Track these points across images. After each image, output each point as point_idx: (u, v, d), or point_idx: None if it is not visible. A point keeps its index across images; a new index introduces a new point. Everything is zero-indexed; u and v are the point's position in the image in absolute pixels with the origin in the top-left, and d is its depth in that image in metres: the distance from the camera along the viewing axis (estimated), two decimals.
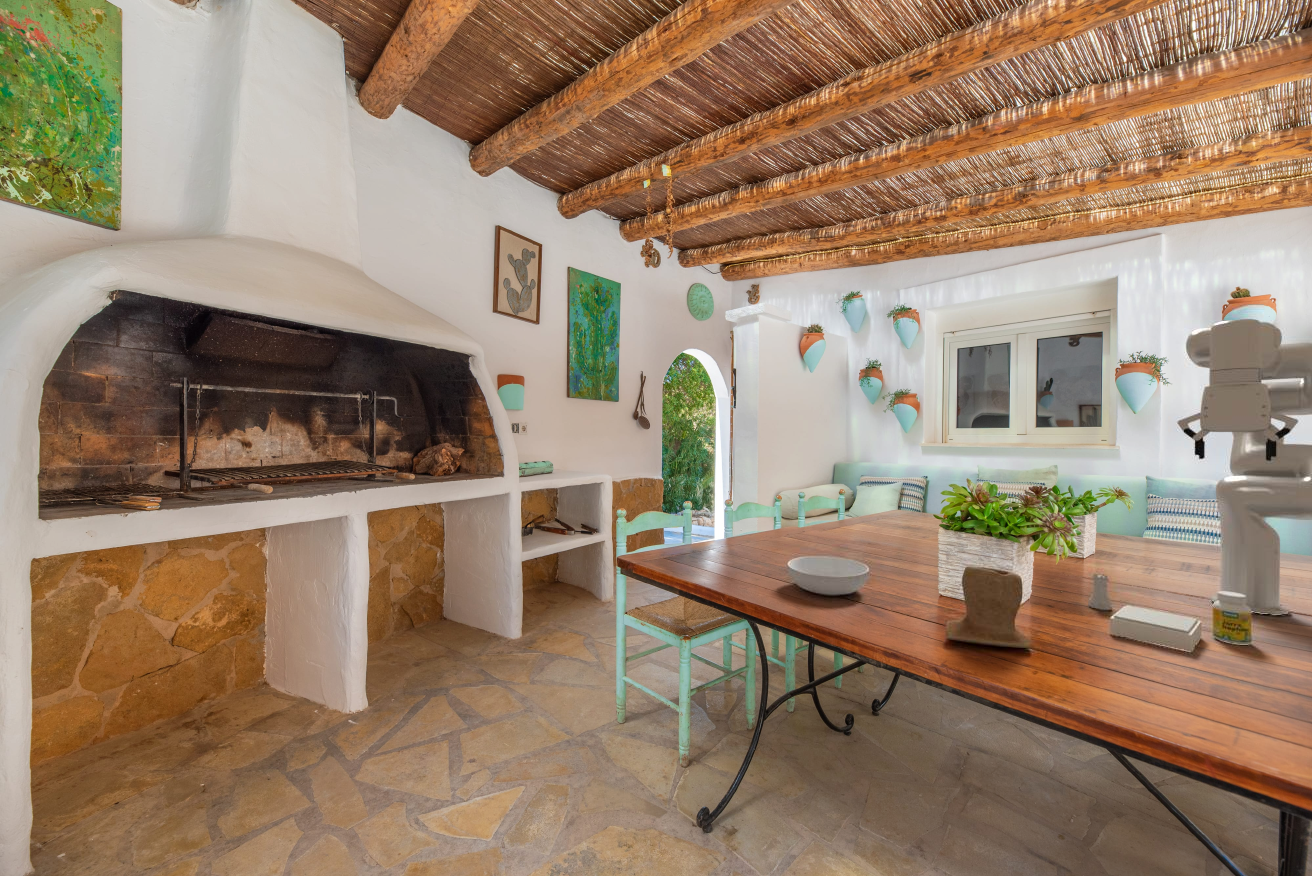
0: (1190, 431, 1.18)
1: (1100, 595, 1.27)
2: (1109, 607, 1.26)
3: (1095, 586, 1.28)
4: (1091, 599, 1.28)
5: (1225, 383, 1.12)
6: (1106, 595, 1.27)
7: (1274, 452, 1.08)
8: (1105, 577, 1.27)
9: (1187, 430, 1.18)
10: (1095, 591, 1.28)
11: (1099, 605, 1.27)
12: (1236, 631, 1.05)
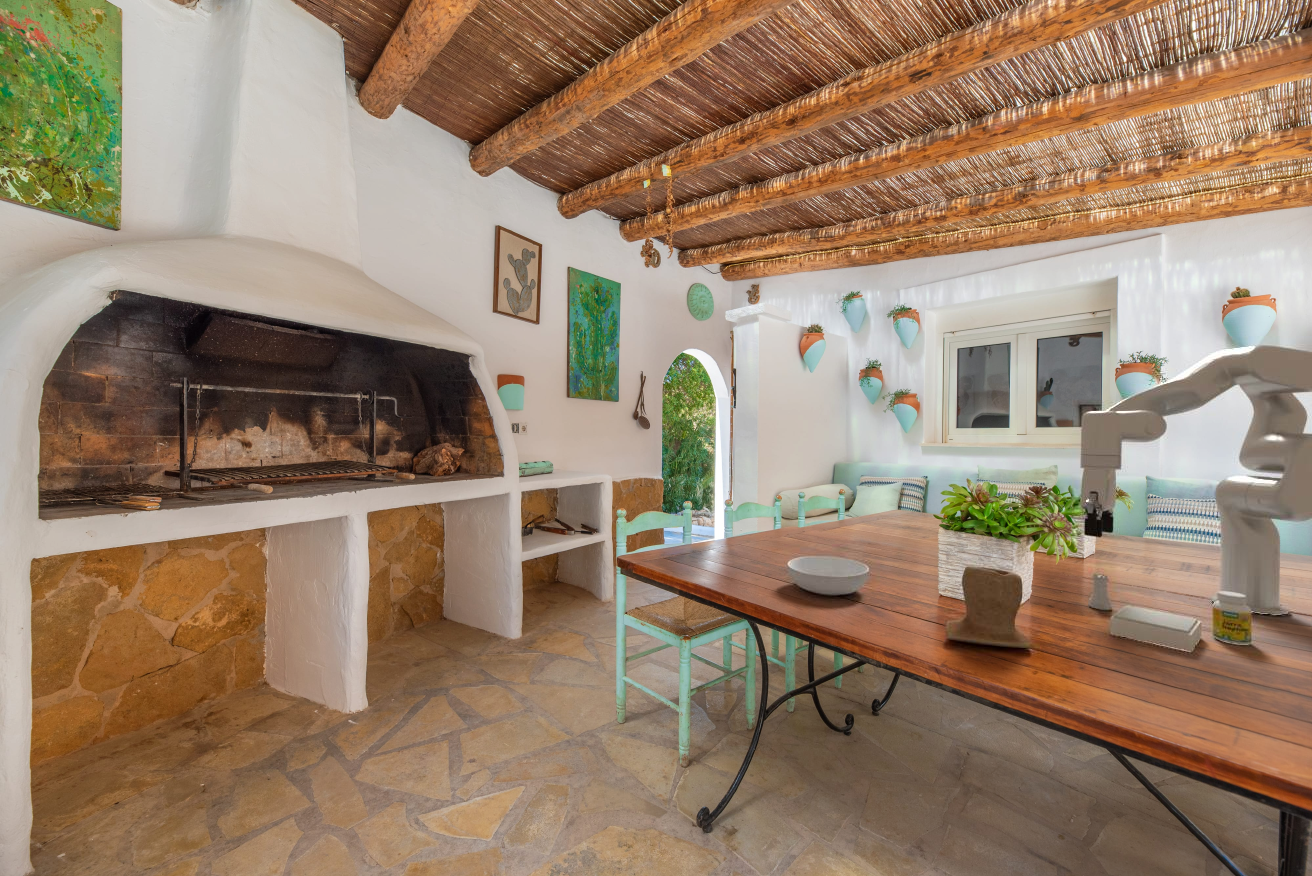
0: (1096, 511, 1.23)
1: (1100, 595, 1.27)
2: (1109, 607, 1.26)
3: (1095, 586, 1.28)
4: (1091, 599, 1.28)
5: (1118, 468, 1.24)
6: (1106, 595, 1.27)
7: None
8: (1105, 577, 1.27)
9: (1096, 510, 1.23)
10: (1095, 591, 1.28)
11: (1099, 605, 1.27)
12: (1236, 631, 1.05)
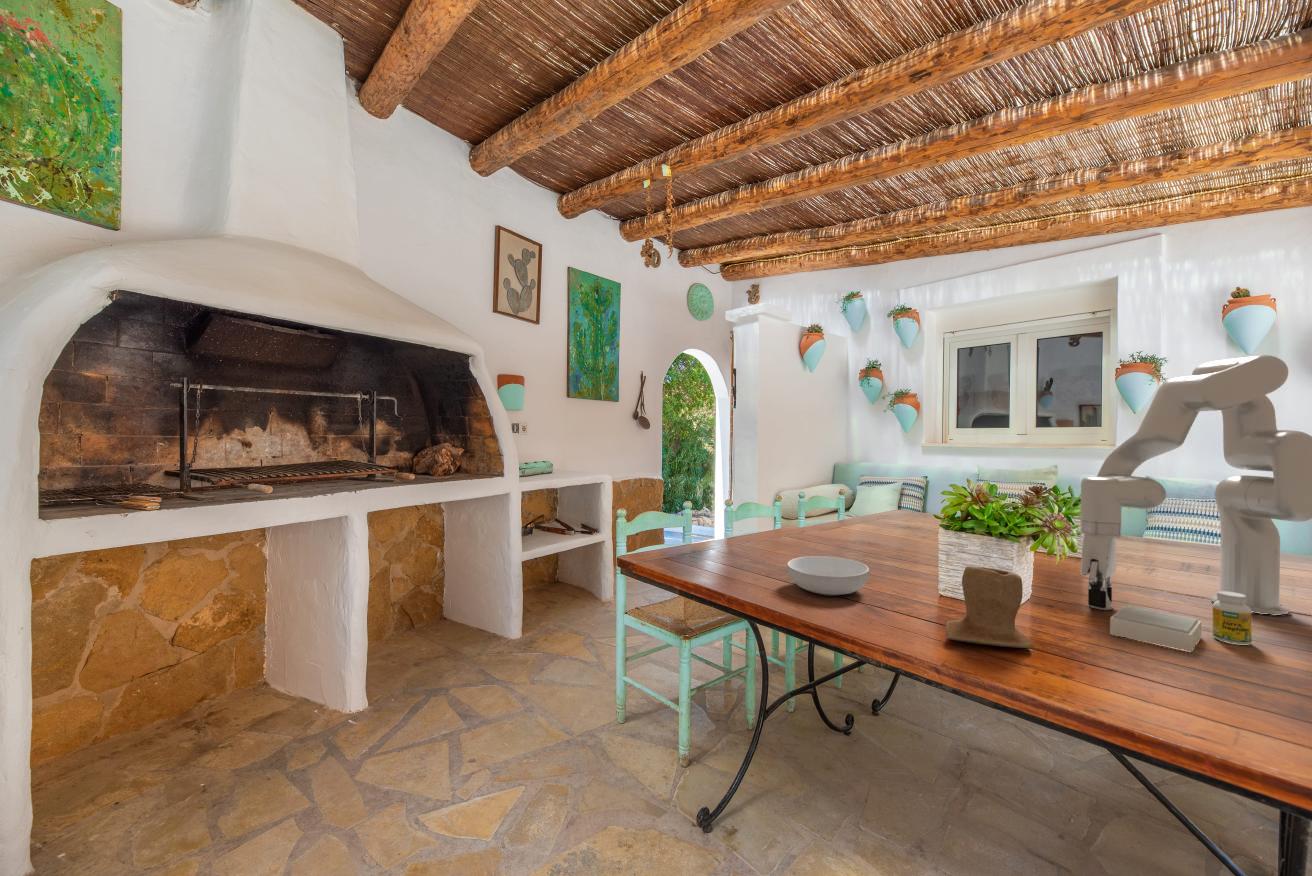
0: (1099, 583, 1.25)
1: None
2: (1109, 607, 1.26)
3: None
4: None
5: (1118, 535, 1.24)
6: (1106, 595, 1.27)
7: (1108, 595, 1.29)
8: None
9: (1099, 582, 1.25)
10: None
11: None
12: (1236, 631, 1.05)
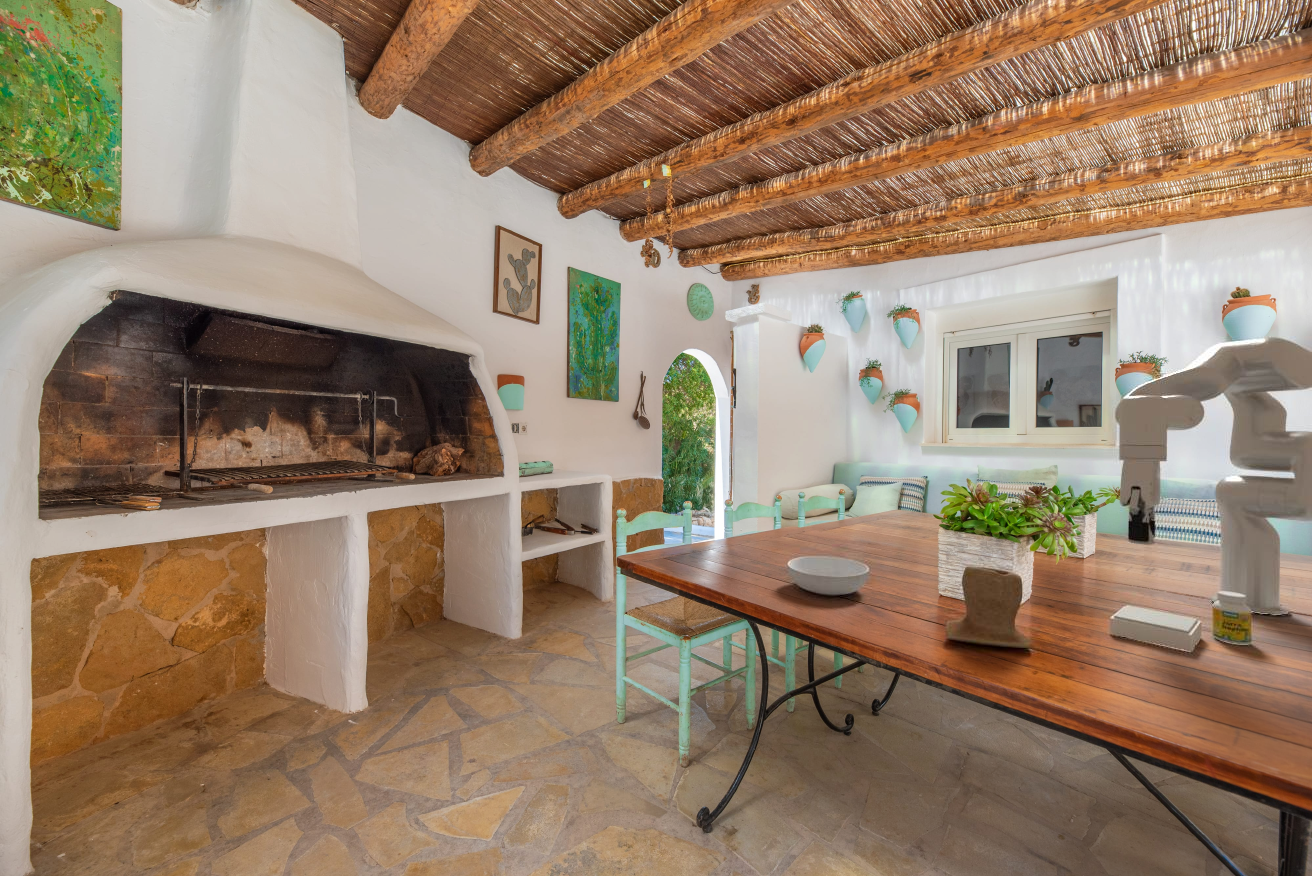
0: None
1: None
2: (1152, 541, 1.12)
3: None
4: None
5: (1163, 459, 1.10)
6: None
7: (1151, 530, 1.15)
8: None
9: (1142, 512, 1.10)
10: None
11: None
12: (1236, 631, 1.05)
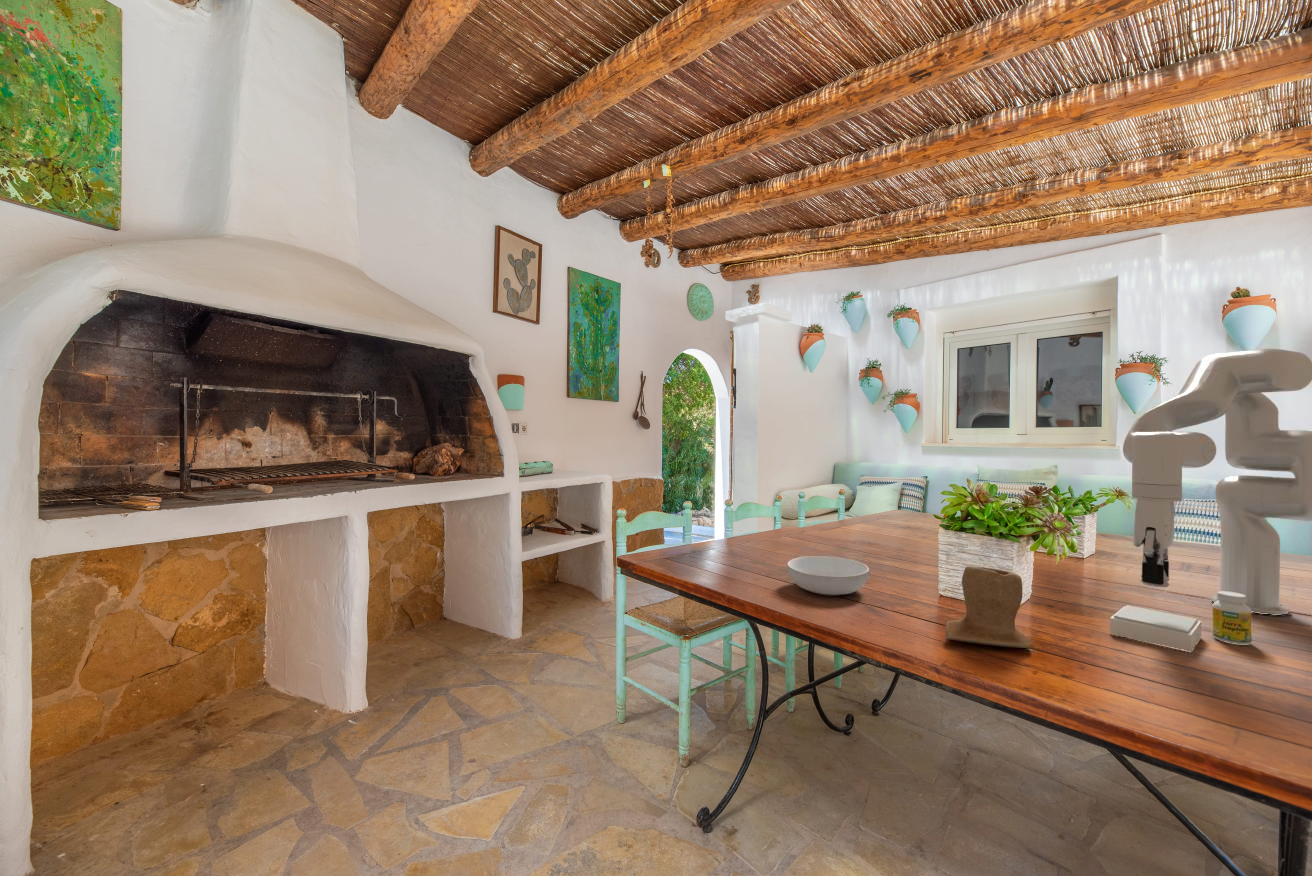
0: (1156, 555, 1.07)
1: None
2: (1166, 583, 1.08)
3: None
4: None
5: (1178, 499, 1.06)
6: None
7: None
8: None
9: (1157, 554, 1.06)
10: None
11: None
12: (1236, 631, 1.05)
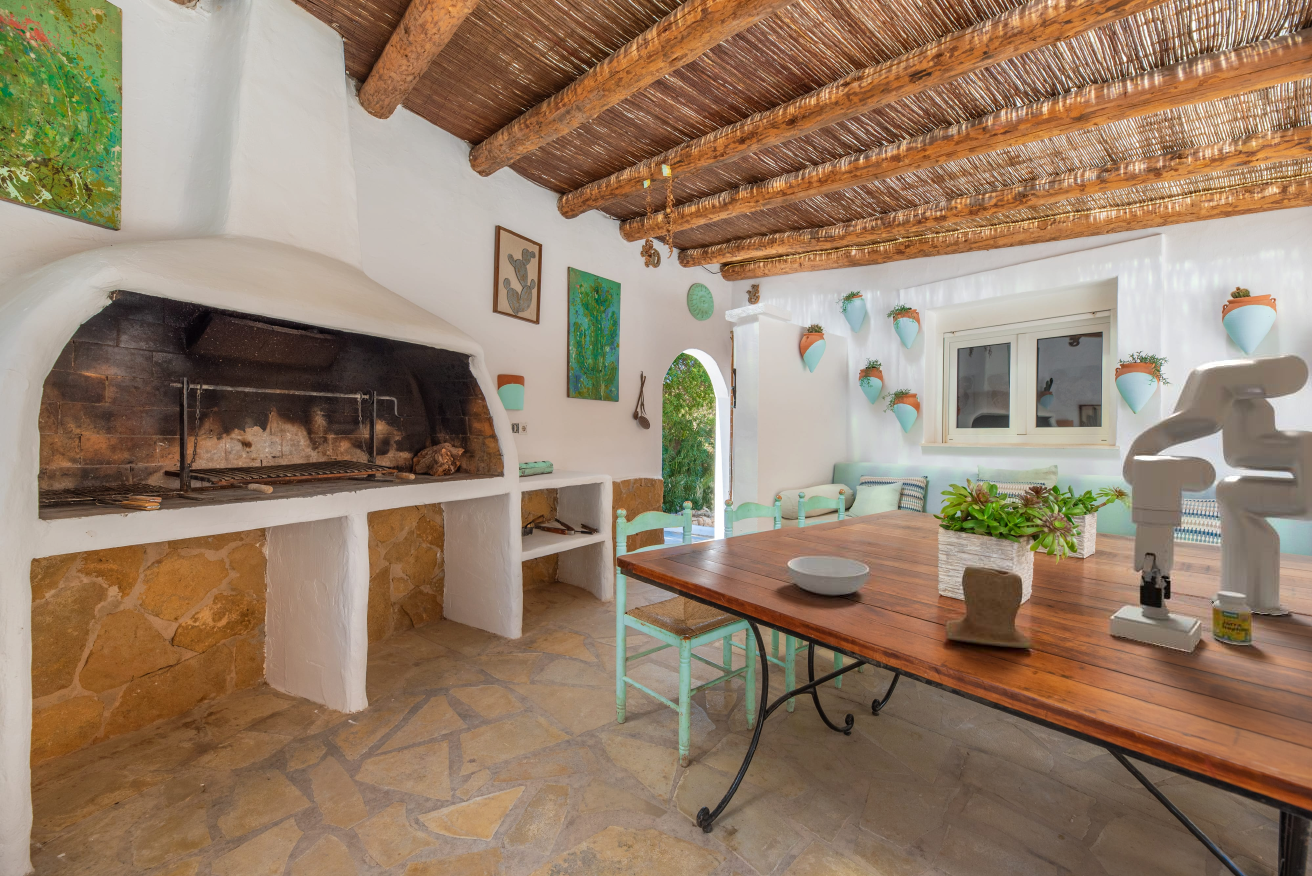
0: (1154, 578, 1.06)
1: None
2: (1167, 616, 1.08)
3: None
4: (1145, 607, 1.11)
5: (1178, 525, 1.06)
6: (1163, 602, 1.09)
7: None
8: (1162, 581, 1.09)
9: (1155, 578, 1.05)
10: None
11: (1155, 614, 1.09)
12: (1236, 631, 1.05)
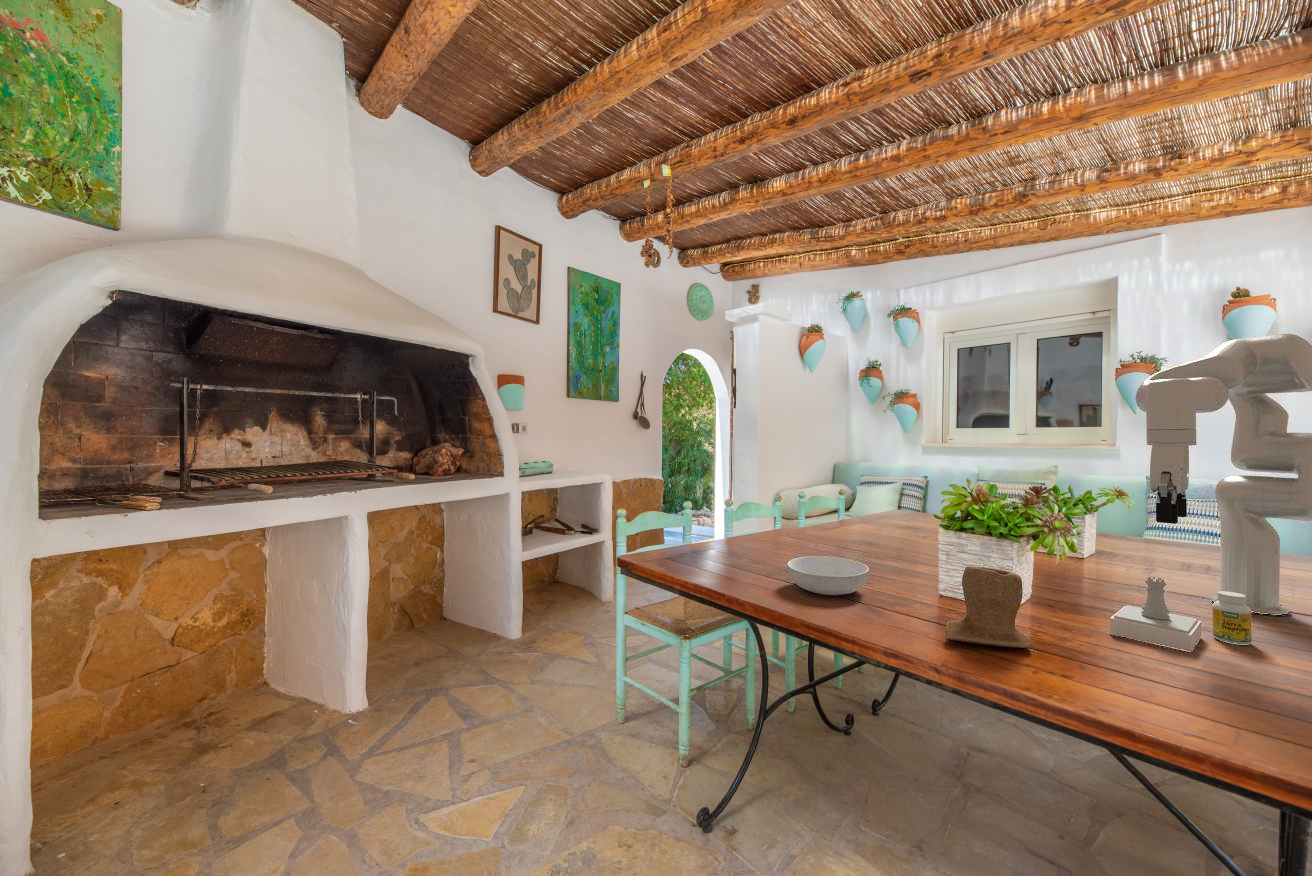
0: (1170, 494, 1.07)
1: (1156, 602, 1.09)
2: (1167, 616, 1.08)
3: (1150, 592, 1.10)
4: (1145, 607, 1.11)
5: (1193, 443, 1.08)
6: (1163, 602, 1.09)
7: None
8: (1162, 581, 1.09)
9: (1170, 494, 1.07)
10: (1150, 597, 1.10)
11: (1155, 614, 1.09)
12: (1236, 631, 1.05)
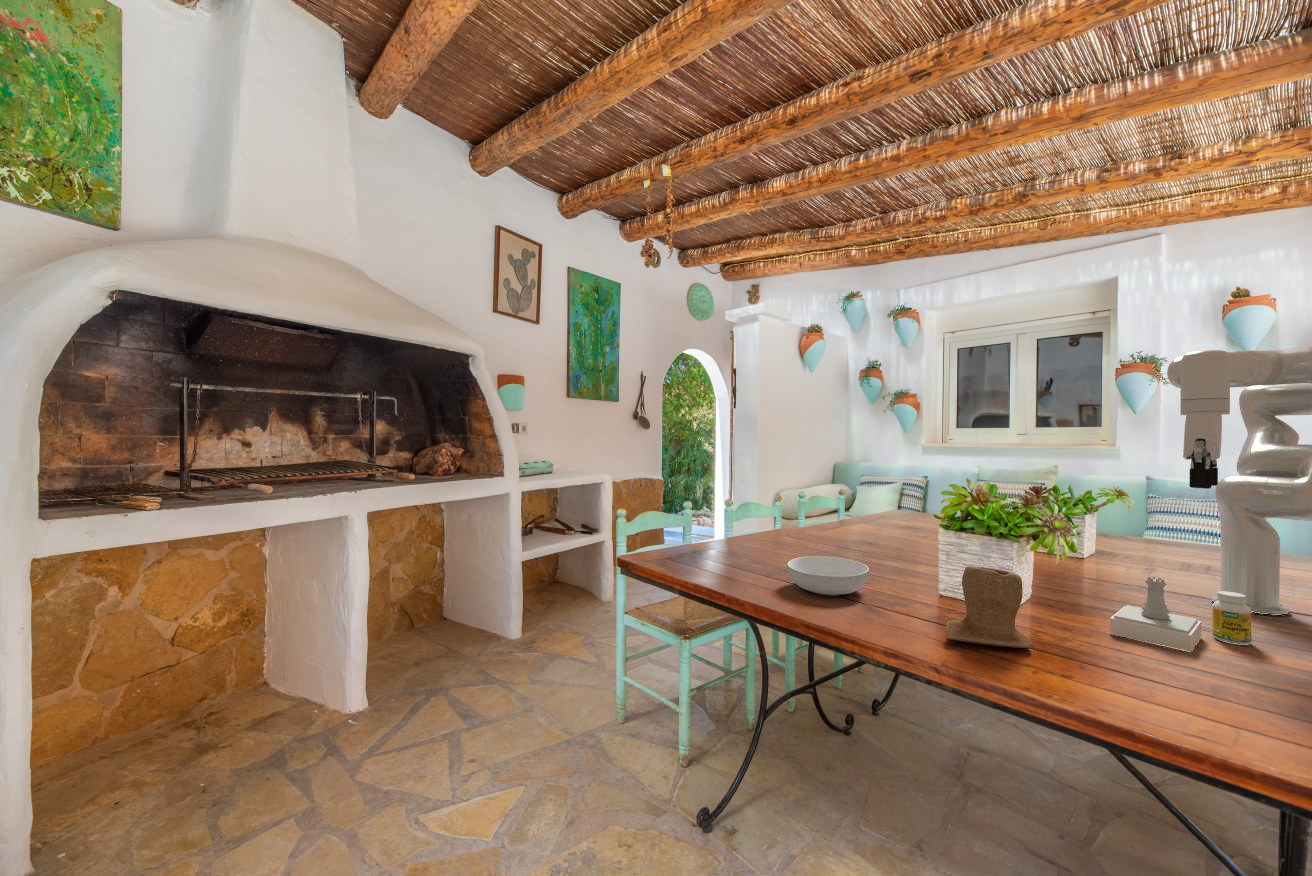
0: None
1: (1156, 602, 1.09)
2: (1167, 616, 1.08)
3: (1150, 592, 1.10)
4: (1145, 607, 1.11)
5: (1227, 412, 1.13)
6: (1163, 602, 1.09)
7: None
8: (1162, 581, 1.09)
9: (1205, 459, 1.11)
10: (1150, 597, 1.10)
11: (1155, 614, 1.09)
12: (1236, 631, 1.05)
